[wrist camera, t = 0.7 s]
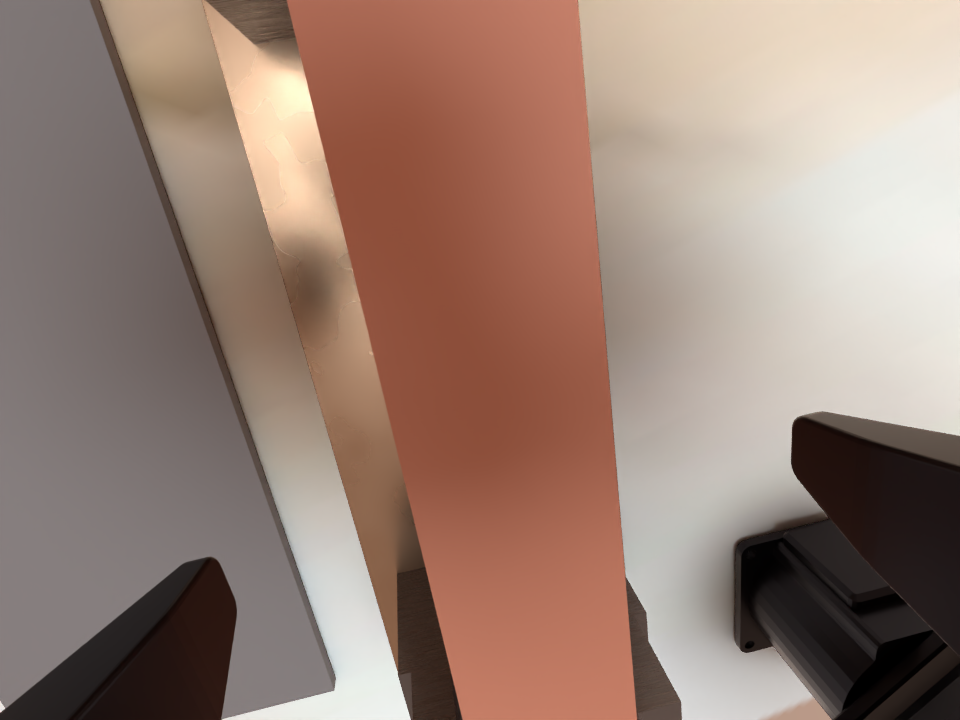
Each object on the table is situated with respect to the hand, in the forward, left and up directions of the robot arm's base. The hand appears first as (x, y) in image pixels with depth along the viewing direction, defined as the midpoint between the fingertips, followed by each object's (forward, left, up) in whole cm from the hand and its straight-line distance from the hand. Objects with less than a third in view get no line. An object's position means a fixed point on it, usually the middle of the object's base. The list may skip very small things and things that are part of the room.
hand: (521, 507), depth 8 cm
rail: (0, 0, -6) cm, 6 cm away
